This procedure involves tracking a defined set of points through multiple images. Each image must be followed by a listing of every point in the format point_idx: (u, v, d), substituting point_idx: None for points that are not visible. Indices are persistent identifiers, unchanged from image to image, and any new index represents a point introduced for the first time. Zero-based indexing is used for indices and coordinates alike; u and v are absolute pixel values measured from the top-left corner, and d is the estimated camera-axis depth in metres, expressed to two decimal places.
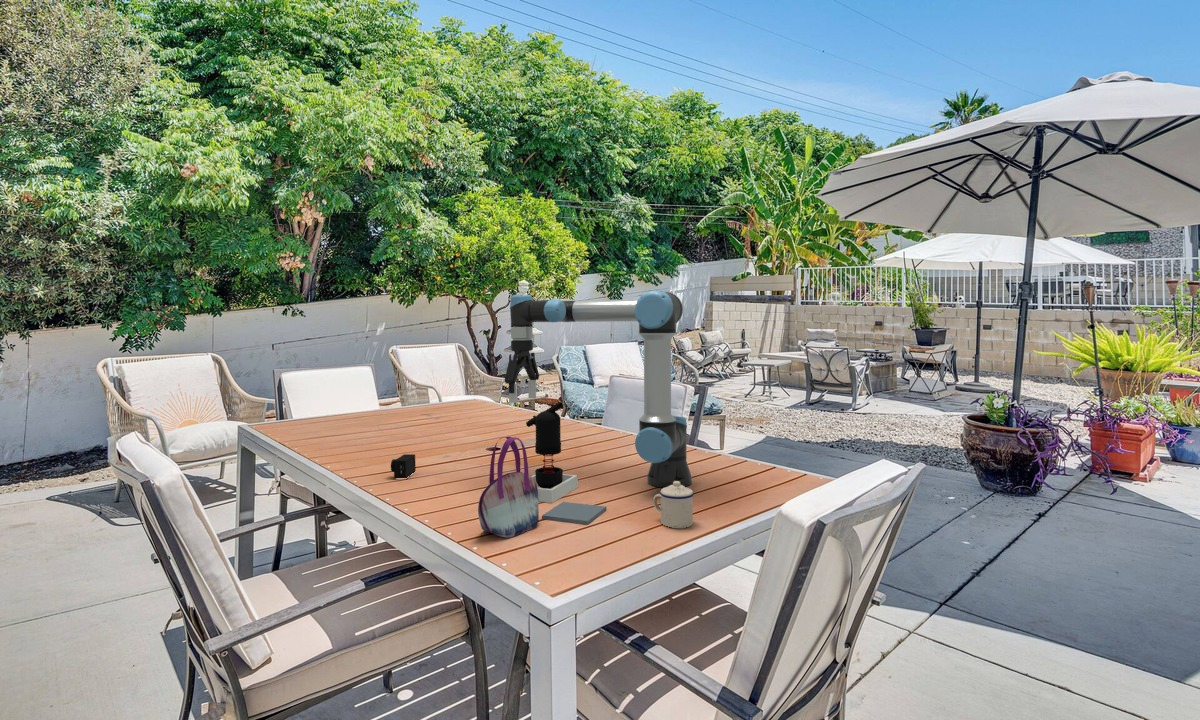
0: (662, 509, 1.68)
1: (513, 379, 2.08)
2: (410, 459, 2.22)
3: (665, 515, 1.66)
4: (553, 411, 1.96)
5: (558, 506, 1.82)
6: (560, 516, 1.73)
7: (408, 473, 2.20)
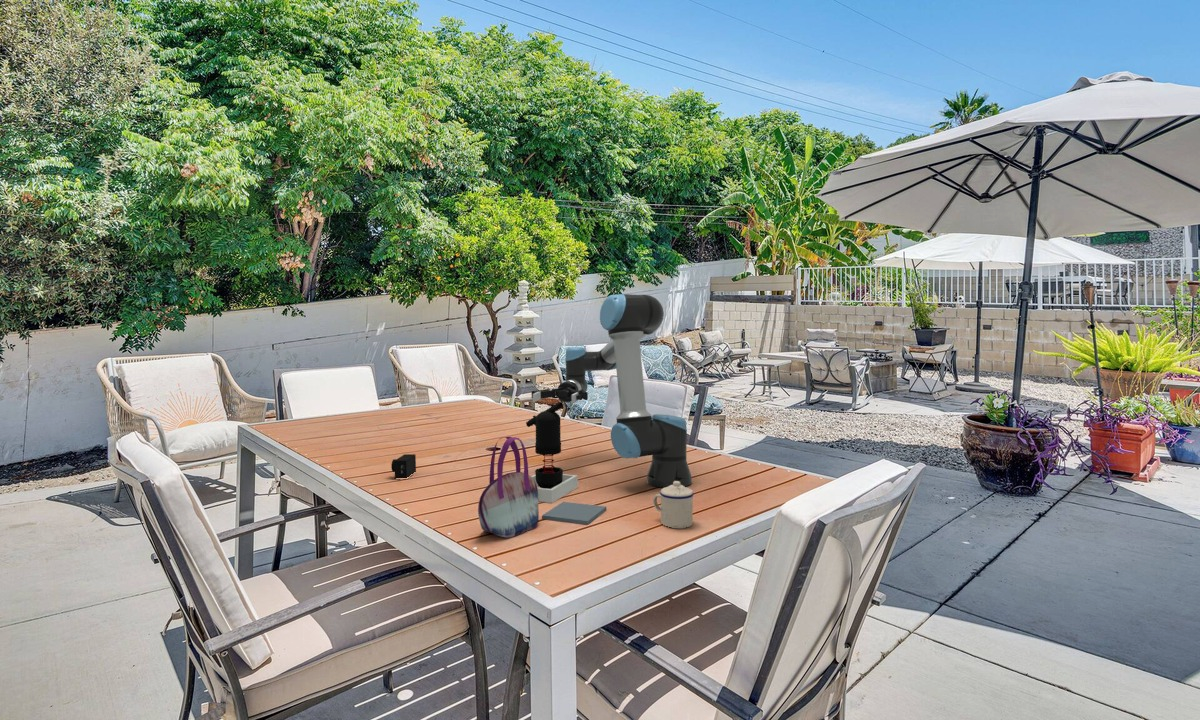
0: (662, 509, 1.68)
1: (538, 392, 2.17)
2: (411, 459, 2.23)
3: (665, 515, 1.66)
4: (553, 411, 1.96)
5: (558, 506, 1.82)
6: (560, 516, 1.73)
7: (408, 473, 2.20)
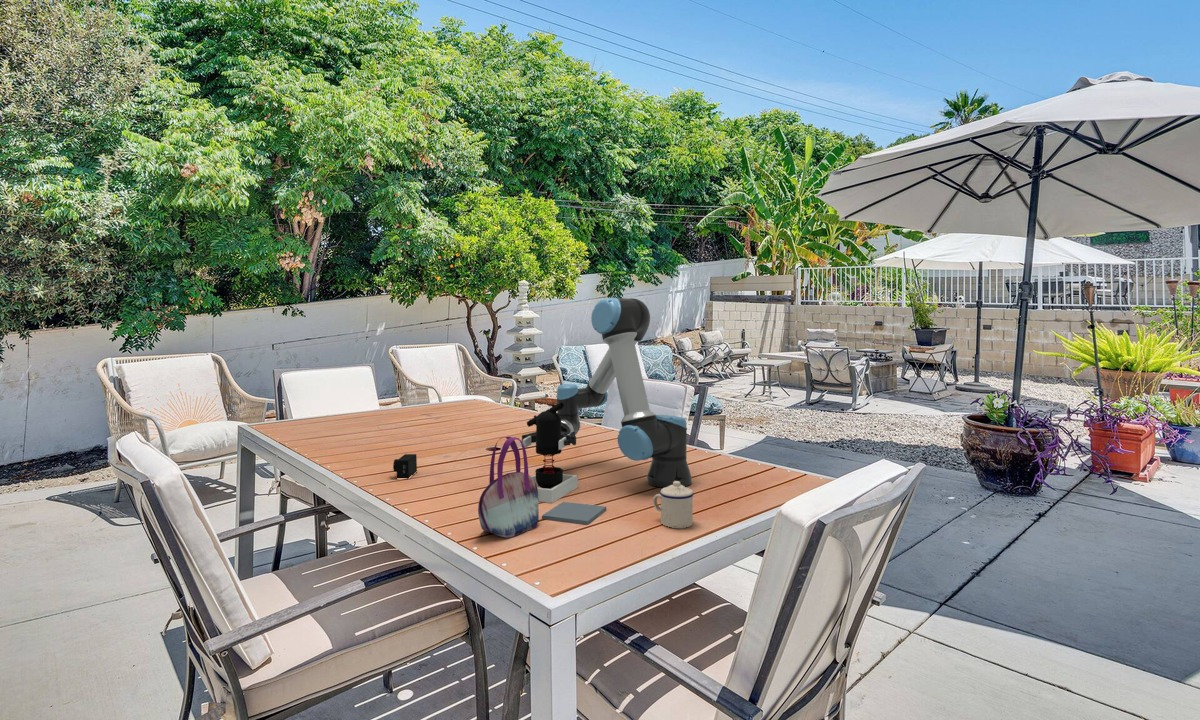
0: (662, 509, 1.68)
1: (528, 436, 2.05)
2: (412, 459, 2.23)
3: (665, 515, 1.66)
4: (554, 411, 1.96)
5: (558, 506, 1.82)
6: (560, 516, 1.73)
7: (410, 472, 2.21)
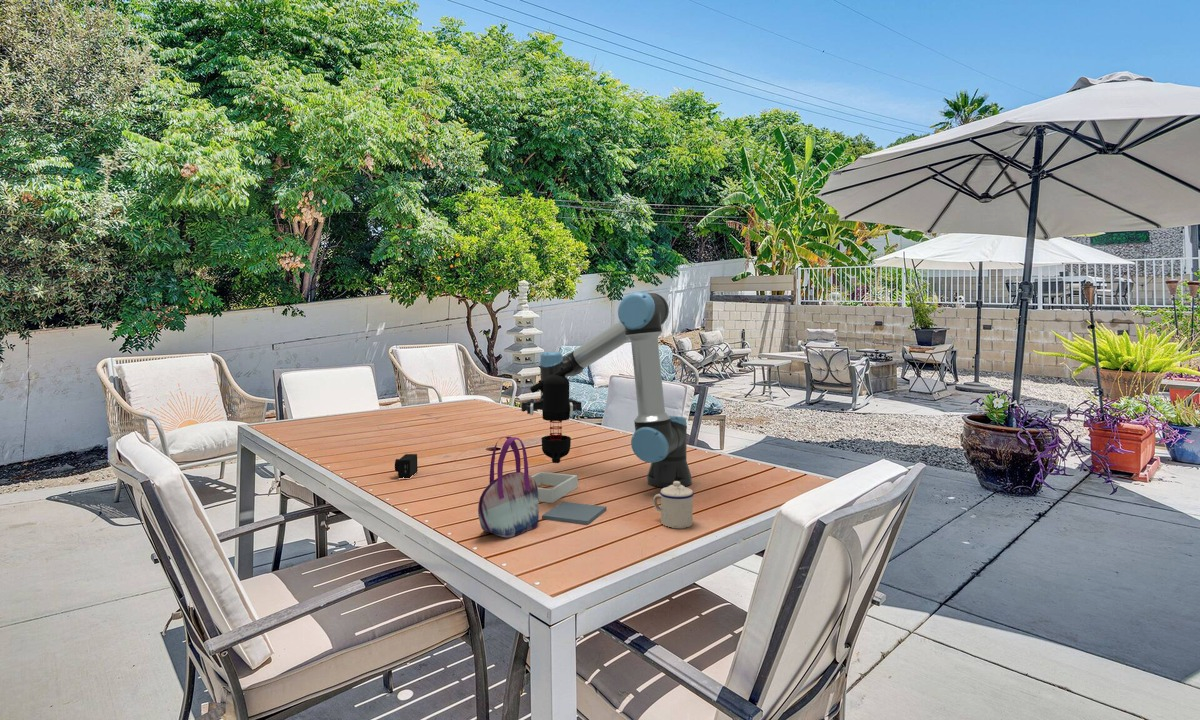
0: (662, 509, 1.68)
1: None
2: (413, 459, 2.23)
3: (665, 515, 1.66)
4: (563, 375, 1.85)
5: (558, 506, 1.82)
6: (560, 516, 1.73)
7: (412, 472, 2.21)
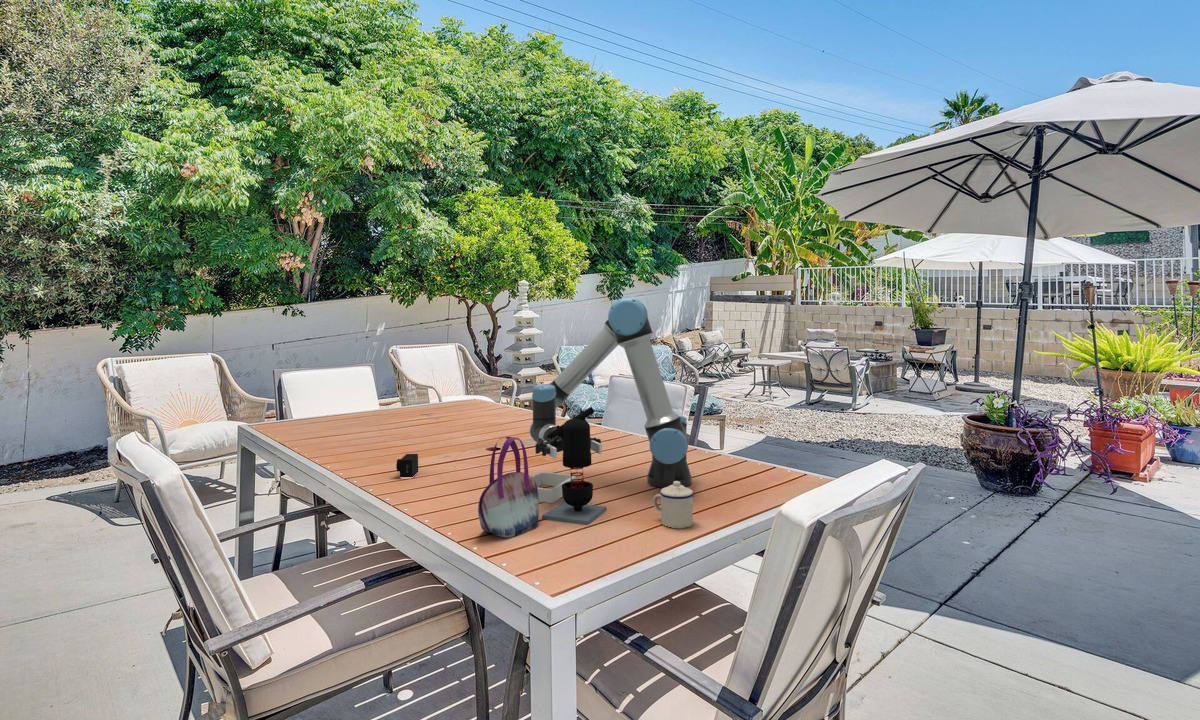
0: (662, 509, 1.68)
1: None
2: (414, 458, 2.24)
3: (665, 515, 1.66)
4: (584, 418, 1.76)
5: (558, 506, 1.82)
6: (560, 516, 1.73)
7: (413, 472, 2.21)
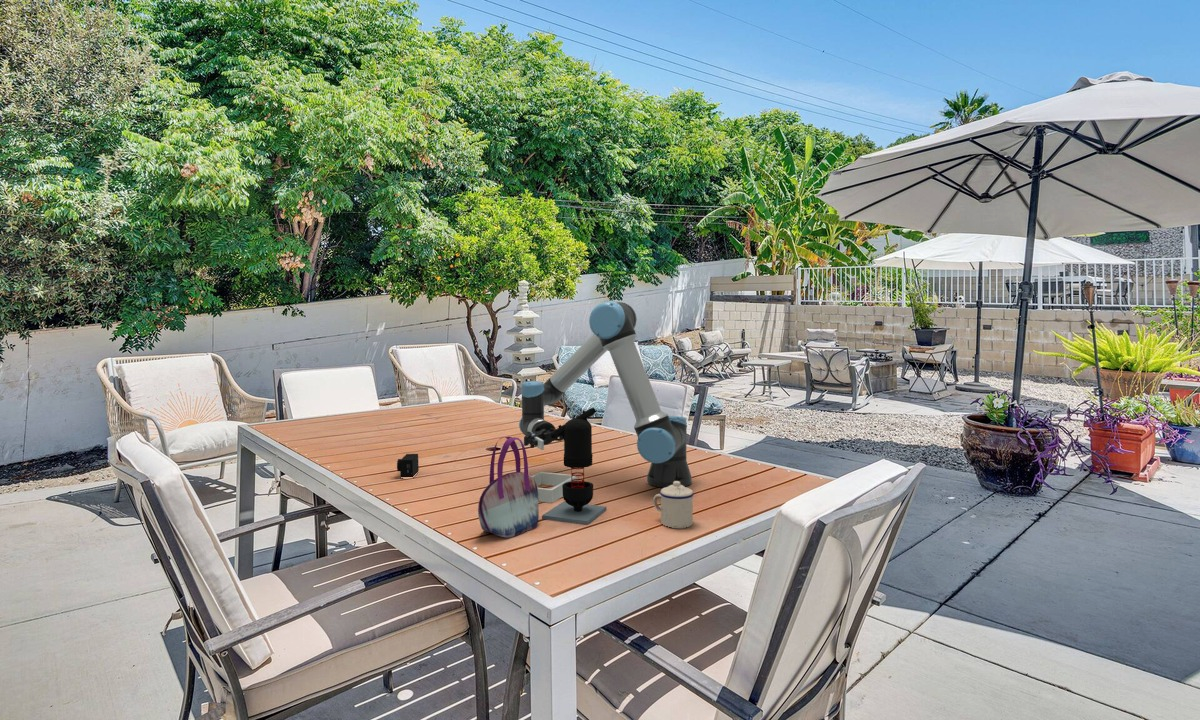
0: (662, 509, 1.68)
1: None
2: (415, 458, 2.24)
3: (665, 515, 1.66)
4: (586, 418, 1.76)
5: (558, 506, 1.82)
6: (560, 516, 1.73)
7: (414, 472, 2.21)
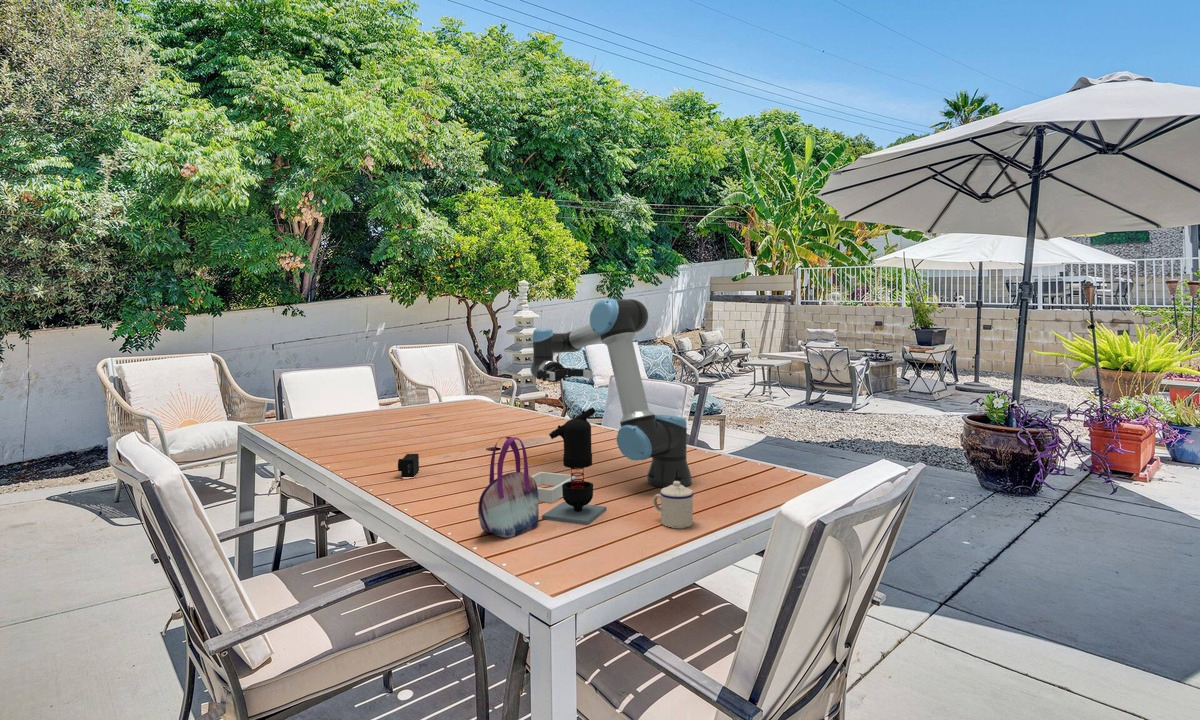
0: (662, 509, 1.68)
1: None
2: (415, 458, 2.24)
3: (665, 515, 1.66)
4: (585, 418, 1.76)
5: (558, 506, 1.82)
6: (560, 516, 1.73)
7: (414, 472, 2.22)
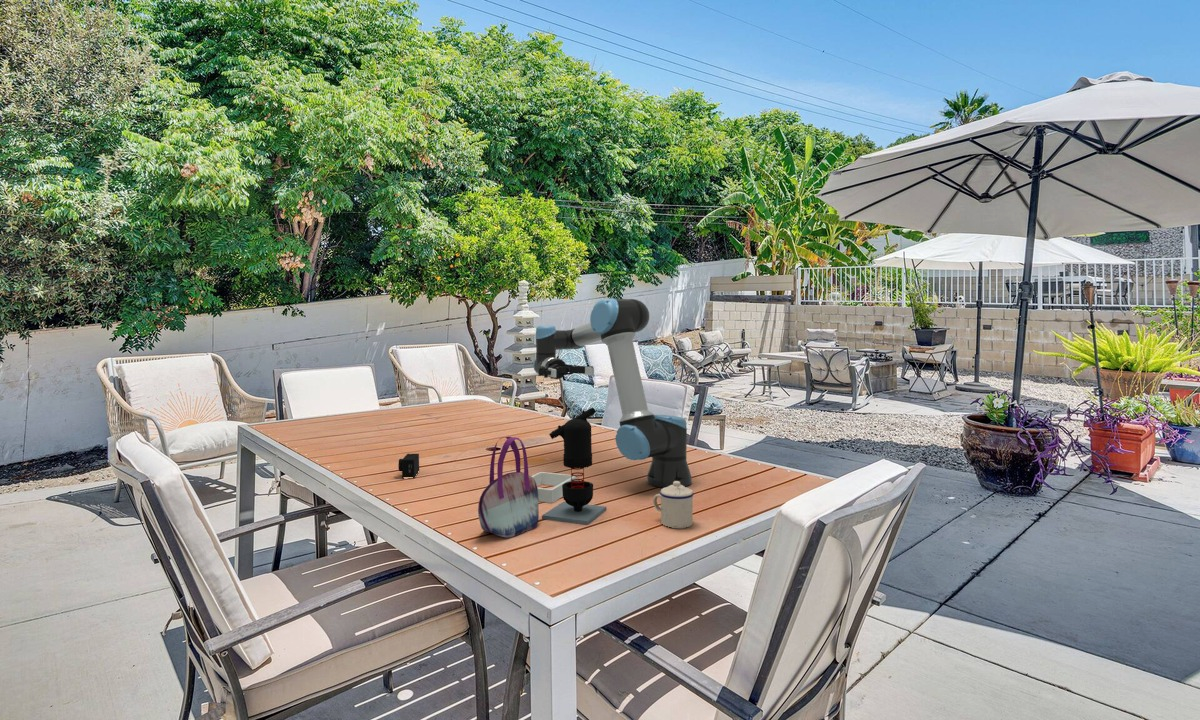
0: (662, 509, 1.68)
1: None
2: (416, 458, 2.24)
3: (665, 515, 1.66)
4: (585, 418, 1.76)
5: (558, 506, 1.82)
6: (560, 516, 1.73)
7: (415, 472, 2.22)
